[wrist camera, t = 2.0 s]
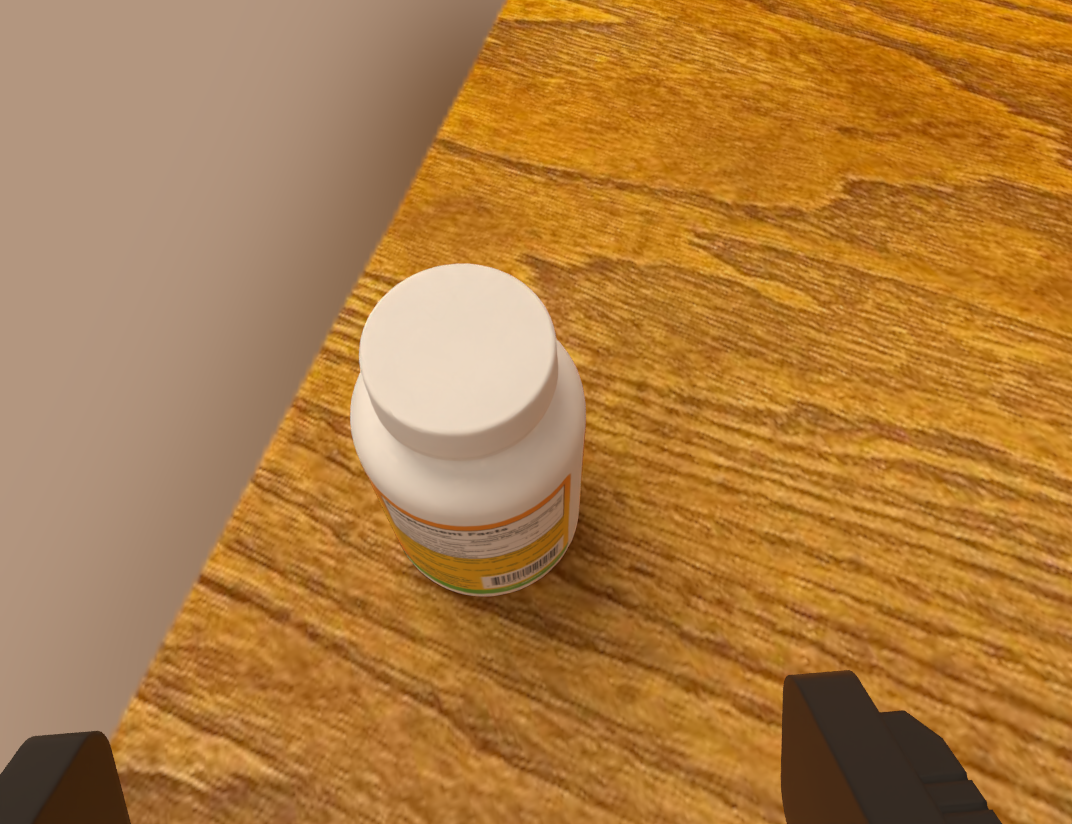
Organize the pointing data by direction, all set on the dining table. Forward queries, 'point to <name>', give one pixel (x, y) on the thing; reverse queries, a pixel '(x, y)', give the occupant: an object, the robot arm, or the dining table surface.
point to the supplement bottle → (471, 428)
